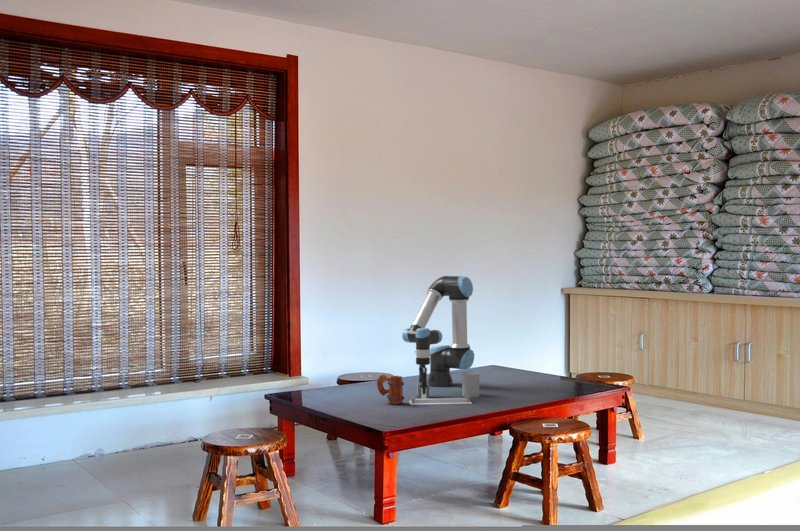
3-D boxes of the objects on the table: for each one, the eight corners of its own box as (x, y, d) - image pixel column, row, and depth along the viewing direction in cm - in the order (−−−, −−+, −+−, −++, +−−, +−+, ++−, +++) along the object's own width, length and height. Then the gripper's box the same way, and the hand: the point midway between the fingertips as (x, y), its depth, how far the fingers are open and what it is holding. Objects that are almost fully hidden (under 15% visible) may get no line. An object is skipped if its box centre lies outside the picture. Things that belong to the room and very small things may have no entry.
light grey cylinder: (475, 393, 432) (475, 371, 432) (482, 396, 423) (482, 374, 423) (459, 394, 429) (459, 372, 429) (466, 397, 420) (466, 375, 420)
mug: (406, 402, 407) (406, 374, 406) (402, 405, 399) (402, 376, 399) (380, 401, 411) (379, 372, 411) (375, 404, 403) (375, 375, 403)
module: (416, 397, 421) (416, 382, 421) (427, 396, 422) (427, 382, 422) (418, 399, 414) (418, 384, 414) (429, 399, 415) (429, 384, 415)
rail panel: (409, 401, 410) (409, 396, 410) (469, 400, 412) (469, 395, 412) (410, 404, 401) (410, 399, 401) (472, 403, 403) (472, 398, 403)
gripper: (414, 354, 429) (414, 394, 429) (417, 360, 406) (417, 402, 406) (427, 354, 429) (427, 393, 430) (432, 359, 406) (432, 401, 407)
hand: (422, 397), depth 418 cm, fingers open, 10 cm apart
